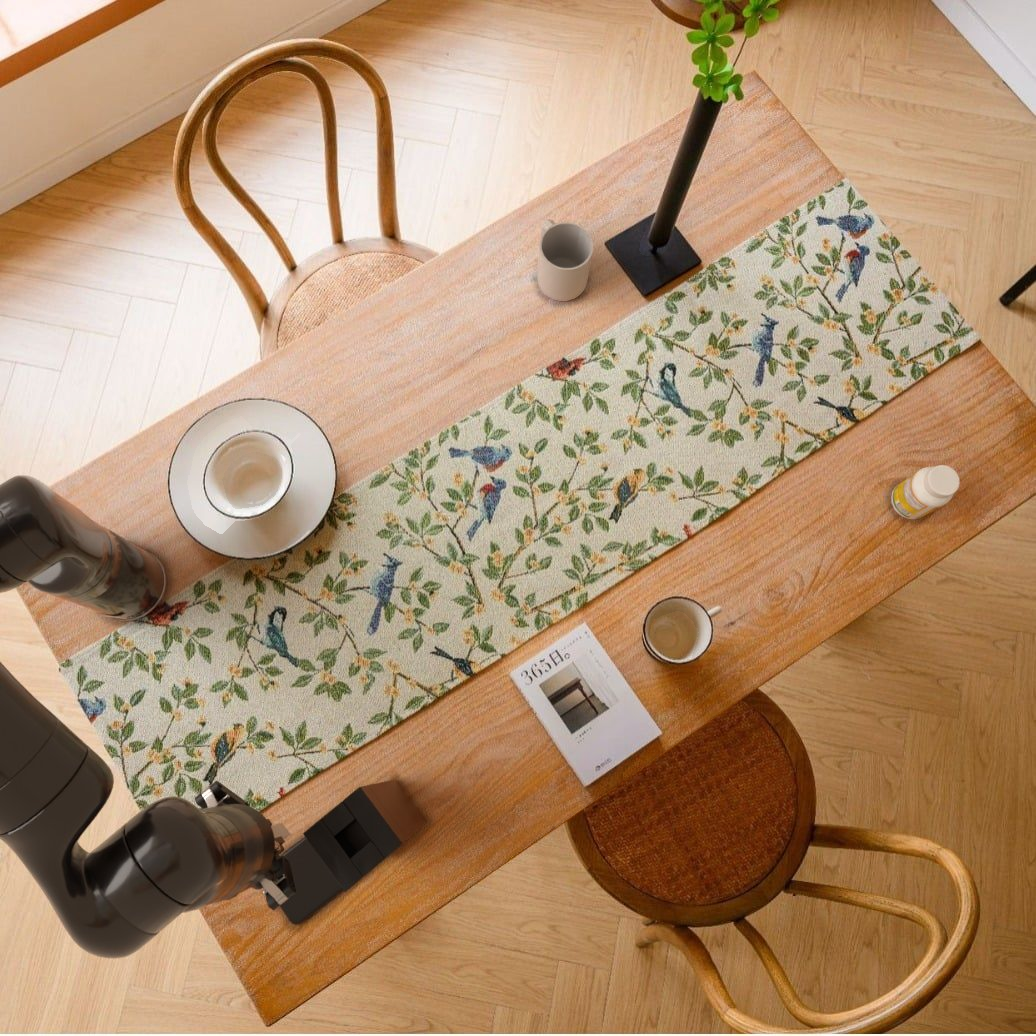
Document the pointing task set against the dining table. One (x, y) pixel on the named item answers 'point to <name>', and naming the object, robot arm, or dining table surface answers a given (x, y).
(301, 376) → the dining table surface
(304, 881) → the smartphone
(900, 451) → the dining table surface
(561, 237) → the cup
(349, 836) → the holder
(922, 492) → the supplement bottle
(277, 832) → the grey square peg
